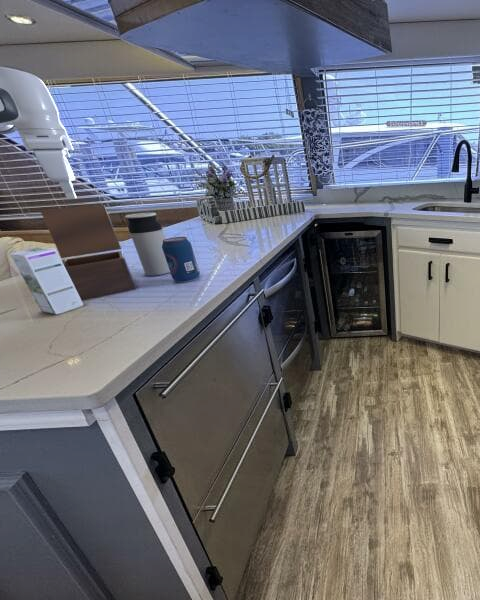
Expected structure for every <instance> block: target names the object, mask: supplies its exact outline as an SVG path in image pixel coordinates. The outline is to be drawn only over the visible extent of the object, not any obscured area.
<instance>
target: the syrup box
mask: <svg viewBox="0 0 480 600" xmlns="http://www.w3.org/2000/svg"><path fill="white" fill-rule="evenodd" d="M9 255H10V257H11V259H12V260H13V262H14V264H15V267H16V268H17V270H18V271H19V274H20V276H21V277H22V279H23V280H24V282H25V284H26V286H27V288H28V289H29V291H30V293H31V296H33V299H34V300H35V302H36V304H37V306H38V307H39V309H40V311H41V312H42V313H46V314H52V315H60V314H63V313H66V312H70V311H72V310H75V309H78V308H81V307H84V303H83V300H81V298H80V296H79V294H78V292H77V290H76V288H75V286H74V284H73V282H72V280H71V278H70V276H69V274H68V272H67V270H66V268H65V266H64V264H63V263H62V258H61V256H60V254H59V252H58V249H57V248H54V247H53V248H51V247H35V248H29V249H28V248H27V249H23V250H19V251H16V252H12V253H9Z"/></svg>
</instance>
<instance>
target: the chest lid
mask: <svg viewBox="0 0 480 600" xmlns="http://www.w3.org/2000/svg"><path fill="white" fill-rule="evenodd" d="M39 212H40V213H41V215H42V218H43V221H44V222H45V225H46V227H47V229H48V231H49V233H50V236H51V238H52V240H53V242H54V245H55V247H56V250H57V252H58V255H59V257H60V259H67V258H74V257H81V256H87V255H94V254H100V253H107V252H113V251H120V250H122V247H121V245H120V242H119V238H118V237H117V234H116V231H115V229H114V225H113V224H112V221H111V219H110V215H109V213H108V211H107V208H106V205H105V204H100V205H99V204H98V205H87V206H77V207H65V208H54V209H53V208H52V209H40V211H39Z"/></svg>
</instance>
